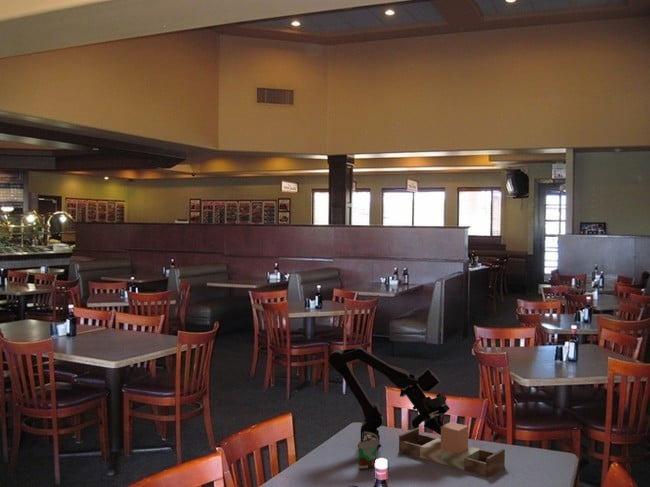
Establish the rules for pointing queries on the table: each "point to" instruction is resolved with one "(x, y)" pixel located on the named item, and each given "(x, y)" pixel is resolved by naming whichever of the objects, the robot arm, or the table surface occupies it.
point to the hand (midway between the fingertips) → (445, 435)
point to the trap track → (451, 454)
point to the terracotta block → (454, 437)
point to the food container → (368, 451)
